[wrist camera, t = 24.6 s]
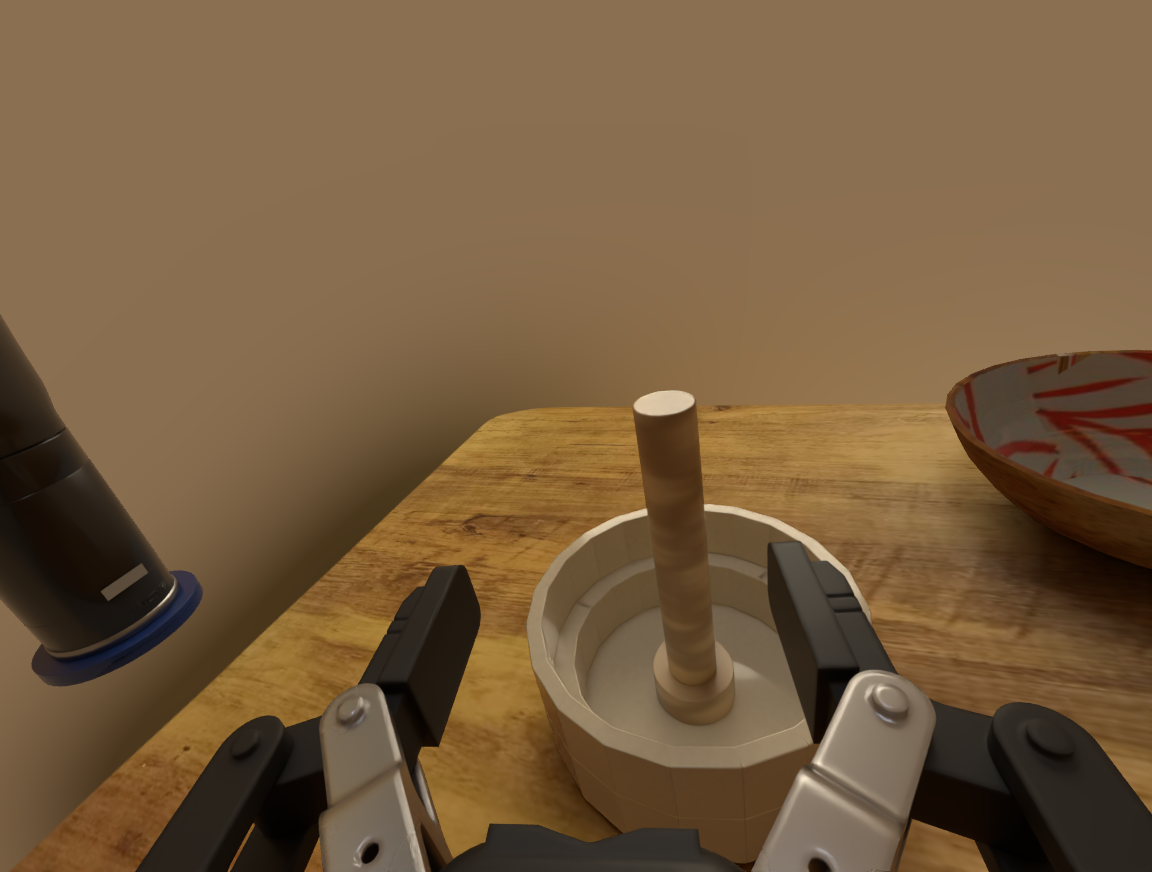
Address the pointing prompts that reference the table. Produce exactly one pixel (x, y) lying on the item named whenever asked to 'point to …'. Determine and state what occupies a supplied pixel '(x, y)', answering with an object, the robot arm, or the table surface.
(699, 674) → the wooden pestle
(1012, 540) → the table surface
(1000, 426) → the bowl
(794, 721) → the cream open cylinder
